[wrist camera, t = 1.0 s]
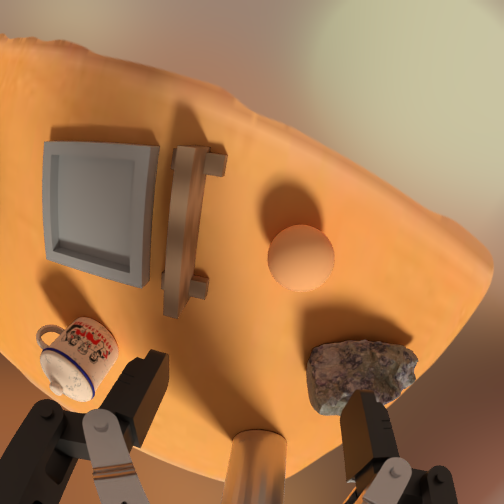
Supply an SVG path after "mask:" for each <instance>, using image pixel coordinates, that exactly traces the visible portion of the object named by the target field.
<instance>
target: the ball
mask: <svg viewBox="0 0 504 504" xmlns="http://www.w3.org/2000/svg"><path fill="white" fill-rule="evenodd" d="M268 266H269V269H270V272H271V274H272V276H273V277H274V279H275V280H276V281H277V282H278V283H279V284H280V285H281V286H283V287H284V288H286V289H289V290H291V291H296V292H307V291H311V290H314V289H316V288H318V287H319V286H321V285H322V284H323V283H324V282H325V281H326V280H327V279H328V278H329V276H330V274H331V272H332V270H333V266H334V250H333V247H332V244H331V242H330V241H329V239H328V238H327V236H326V235H325V234H324V233H323V232H321V231H320V230H318V229H317V228H314V227H312V226H309V225H294V226H290V227H288V228H286V229H284V230H282V231H281V232H280V233H279V234H278V235H277V236H276V237H275V238H274V239H273V241H272V243H271V245H270V247H269V251H268Z"/></svg>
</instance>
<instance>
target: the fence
mask: <svg viewBox="0 0 504 504" xmlns="http://www.w3.org/2000/svg"><path fill="white" fill-rule="evenodd" d="M210 148H211V147H205V146H197V145H185V146H177V148H174V150H173V157H172V164H171V169H174V175H173V183H172V192H171V201H170V211H169V221H168V233H167V246H166V262H165V270H164V271H163V272H162V283H161V289H163V290H164V311H163V315H165V316H168V317H172V318H176V319H178V317H179V316H180V314H181V312H182V310H183V309H184V307H185V305H186V304H187V302H188V300H189V298H190V297H195V298H200V299H204V300H205V298H206V296H207V292H208V284H209V278H205V277H200V276H196V275H194V267H195V257H196V249H197V240H198V232H199V224H200V216H201V208H202V201H203V194H204V187H205V180H206V174H207V175H213V176H219V177H223V176H224V174H225V168H226V162H227V156H228V155H223V154H217V153H210Z"/></svg>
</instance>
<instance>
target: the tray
mask: <svg viewBox="0 0 504 504" xmlns="http://www.w3.org/2000/svg"><path fill="white" fill-rule="evenodd" d="M159 149H160V146H151V145H140V144H128V143H113V142H93V141H47V142H44V154H43V178H42V202H43V226H44V239H45V250H46V259H47V260H50V261H53V262H56V263H59V264H62V265H65V266H68V267H71V268H74V269H77V270H80V271H84V272H87V273H90V274H93V275H96V276H100V277H103V278H106V279H110V280H113V281H117V282H120V283H123V284H127V285H131V286H134V287H138V288H141V289H142V288H143V287H144V286H145V285H146V284H147V282H148V281H149V279H150V248H151V229H152V215H153V202H154V192H155V182H156V173H157V164H158V156H159Z"/></svg>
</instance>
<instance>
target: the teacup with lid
mask: <svg viewBox="0 0 504 504" xmlns="http://www.w3.org/2000/svg"><path fill="white" fill-rule="evenodd" d="M47 332H56V333H58V334H60V336H59V337H58V338H57V339H56V340H55V341H54V342H53V343H52V344H51V345H50V346H48V345H47V344H45V343H44V342H43V341H42V339H41V336H42V335H43V334H45V333H47ZM36 339H37V343H38V345H39V346H40V347H41V348H42V349H43V351H42V353H41V356H40V363H41V366H42V369H43V371H44V373H45V375H46V376H47V378H48V379H49V381H50V382H51V383H50V389H51V390H52V392H53V393H55V394H56V395H62V394H64V395H66V396H68V397H70V398H72V399H74V400H76V401H80V402H86V401H89V400H91V399H92V398H93V397H94V395H95V391H96V389H97V388H98V386H99V385H100V383H101V382H102V380H103V379H104V377H105V376H106V374H107V373H108V372H109V370H110V369H111V367H112V366H113V364H114V363H115V361H116V360H117V358H118V354H119V351H118V346H117V343H116V341H115V339H114V338H113V336H112V335H111V333H110V332H109V331H108V330H107V329H106V328H105V327H104V326H103V325H101V324H100V323H99V322H97V321H95V320H93V319H91V318H87V317H80V318H77V319H76V320H74V321H73V322H72V323H71V324H70V325H69V326H68V327H67V328H66V329H65V330H64V329H63V328H61V327H59V326H57V325H45V326H43V327H41V328H40V329H39V330H38V332H37V334H36Z"/></svg>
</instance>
